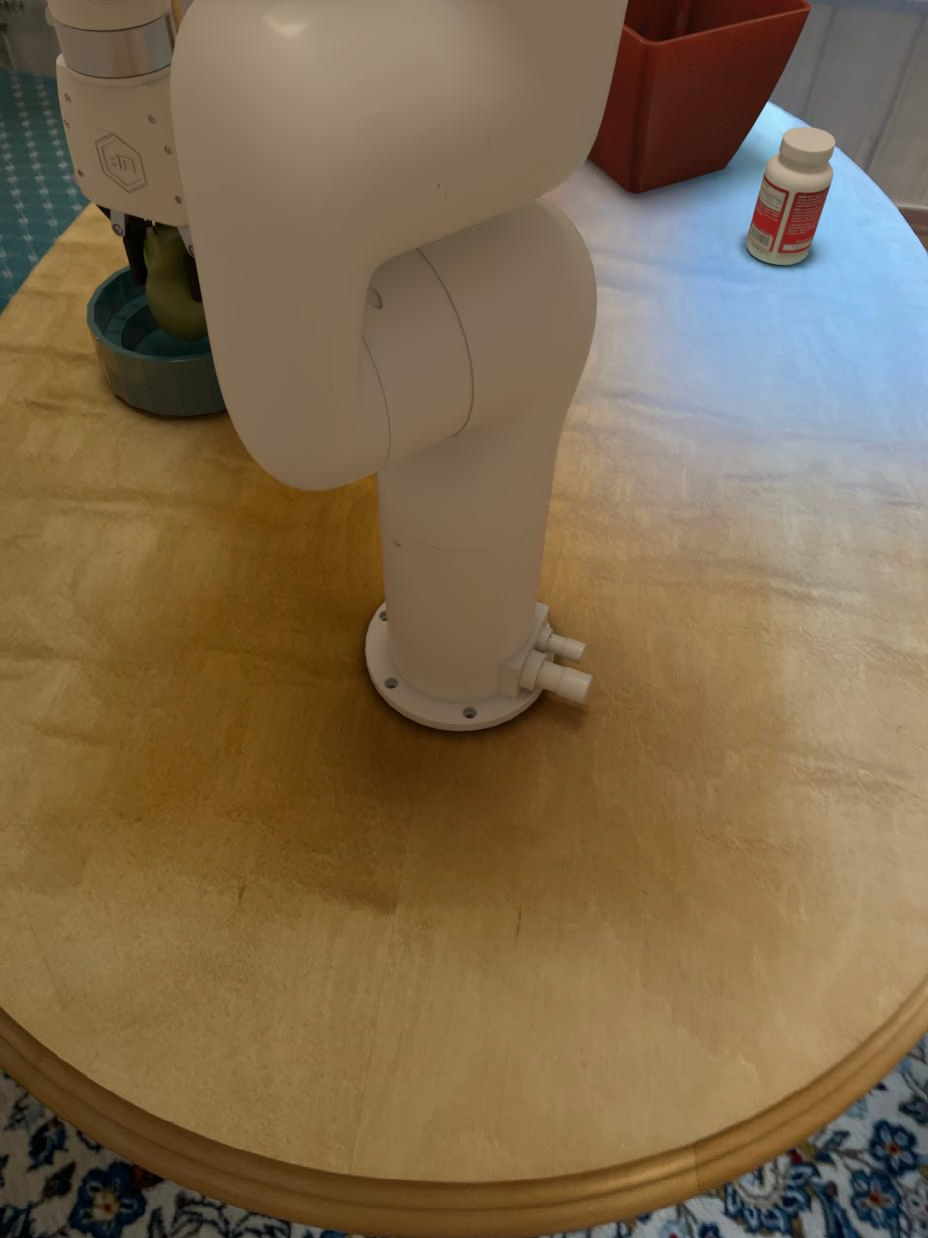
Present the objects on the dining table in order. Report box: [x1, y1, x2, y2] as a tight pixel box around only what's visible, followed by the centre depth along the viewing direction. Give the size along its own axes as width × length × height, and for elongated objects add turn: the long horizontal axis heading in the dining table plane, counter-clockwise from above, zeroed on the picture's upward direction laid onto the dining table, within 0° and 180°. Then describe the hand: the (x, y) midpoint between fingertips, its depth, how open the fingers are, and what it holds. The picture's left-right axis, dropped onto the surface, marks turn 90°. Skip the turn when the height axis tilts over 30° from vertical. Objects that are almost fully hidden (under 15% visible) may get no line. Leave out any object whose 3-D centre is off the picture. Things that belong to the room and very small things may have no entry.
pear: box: [143, 222, 209, 342], centre depth 78 cm, size 6×5×10 cm
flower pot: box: [587, 0, 813, 195], centre depth 100 cm, size 19×19×17 cm
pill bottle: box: [745, 126, 836, 266], centre depth 92 cm, size 6×6×11 cm
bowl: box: [86, 264, 227, 417], centre depth 82 cm, size 15×15×6 cm
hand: (177, 282), depth 78 cm, fingers closed on pear, 4 cm apart
